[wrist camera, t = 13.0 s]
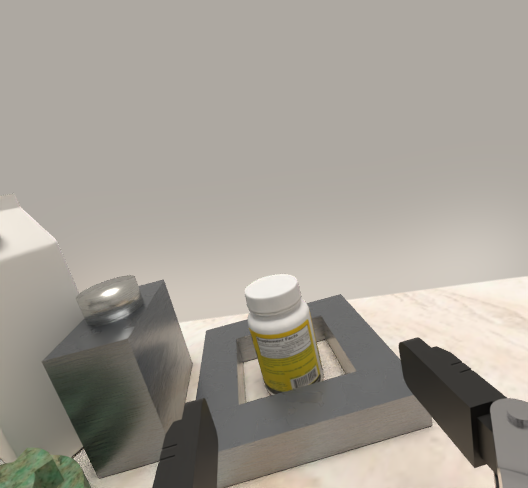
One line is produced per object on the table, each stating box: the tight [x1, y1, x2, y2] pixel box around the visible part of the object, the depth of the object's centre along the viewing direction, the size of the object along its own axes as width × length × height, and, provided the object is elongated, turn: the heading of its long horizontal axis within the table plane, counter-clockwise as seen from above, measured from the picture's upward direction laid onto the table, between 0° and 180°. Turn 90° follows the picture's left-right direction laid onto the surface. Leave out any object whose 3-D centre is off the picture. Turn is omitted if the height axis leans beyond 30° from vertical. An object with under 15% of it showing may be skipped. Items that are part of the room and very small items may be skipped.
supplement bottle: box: [245, 274, 323, 395], centre depth 23 cm, size 5×5×8 cm
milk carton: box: [0, 194, 84, 463], centre depth 22 cm, size 7×7×19 cm
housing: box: [42, 275, 432, 488], centre depth 23 cm, size 21×14×11 cm, turn 97°
